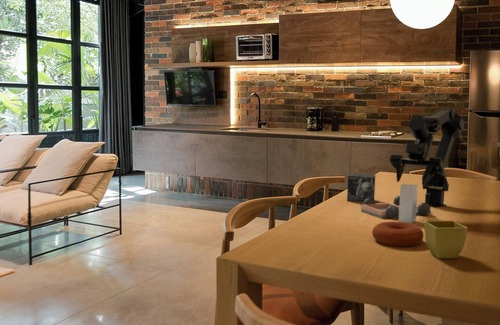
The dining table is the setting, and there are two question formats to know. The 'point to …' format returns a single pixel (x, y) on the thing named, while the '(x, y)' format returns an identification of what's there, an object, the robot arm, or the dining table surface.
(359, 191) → the box
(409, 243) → the donut
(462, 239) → the flower pot
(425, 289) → the dining table surface
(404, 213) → the block
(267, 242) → the dining table surface
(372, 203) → the chassis
